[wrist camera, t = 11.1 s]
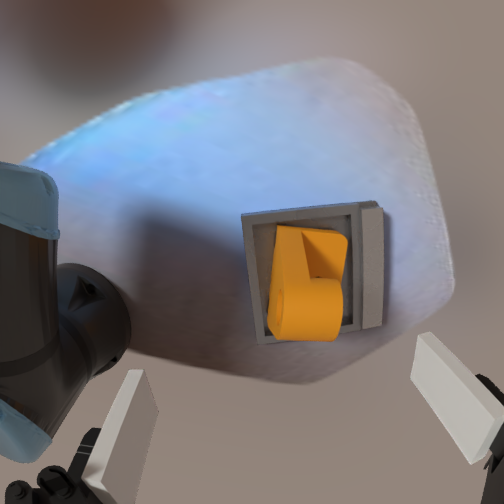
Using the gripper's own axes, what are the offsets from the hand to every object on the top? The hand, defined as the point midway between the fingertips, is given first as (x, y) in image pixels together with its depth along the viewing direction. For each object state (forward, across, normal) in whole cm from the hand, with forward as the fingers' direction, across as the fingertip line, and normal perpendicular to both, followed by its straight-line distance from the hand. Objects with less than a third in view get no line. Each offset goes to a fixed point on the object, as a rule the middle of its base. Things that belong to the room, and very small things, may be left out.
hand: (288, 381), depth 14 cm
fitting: (+22, +6, -3) cm, 23 cm away
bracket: (+22, +5, -3) cm, 23 cm away
